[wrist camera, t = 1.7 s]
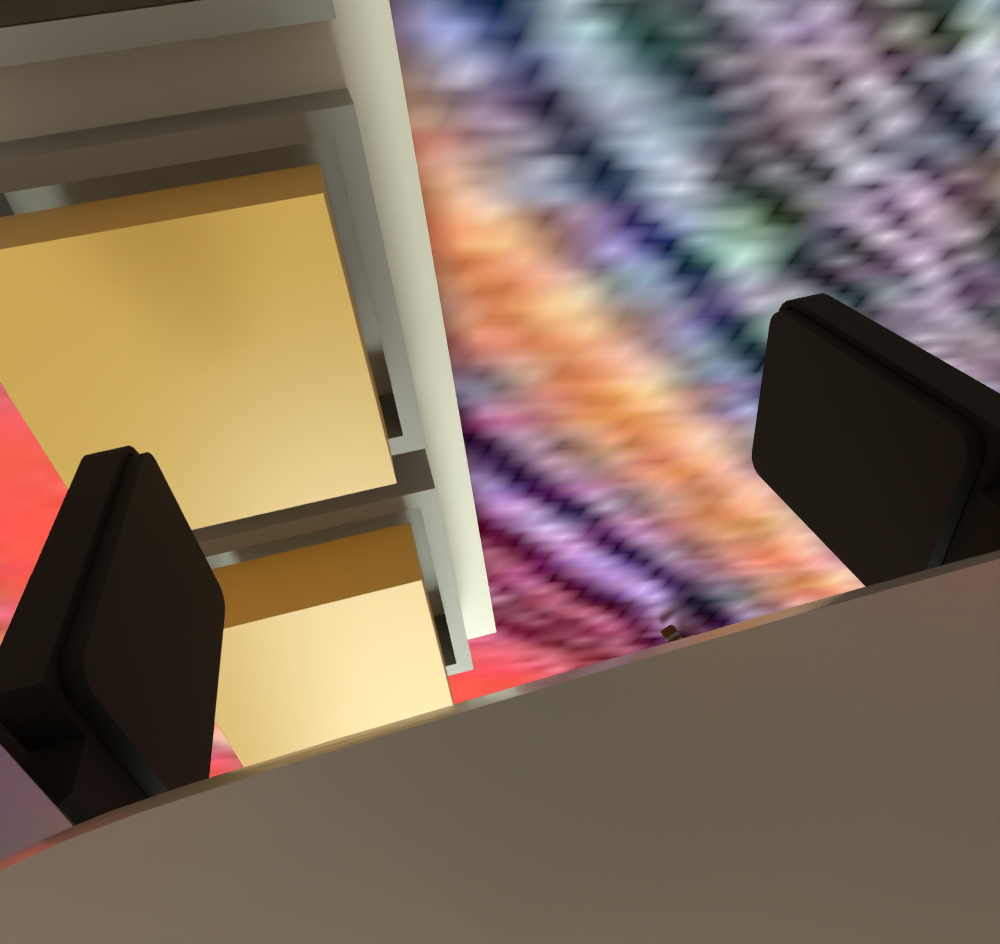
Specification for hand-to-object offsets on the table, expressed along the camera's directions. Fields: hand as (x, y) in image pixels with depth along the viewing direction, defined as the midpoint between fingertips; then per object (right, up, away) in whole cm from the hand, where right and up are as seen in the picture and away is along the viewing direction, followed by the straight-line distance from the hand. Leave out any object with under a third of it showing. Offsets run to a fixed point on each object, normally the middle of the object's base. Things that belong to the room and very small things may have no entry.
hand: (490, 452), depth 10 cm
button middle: (-6, +2, +4) cm, 7 cm away
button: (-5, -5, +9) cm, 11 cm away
